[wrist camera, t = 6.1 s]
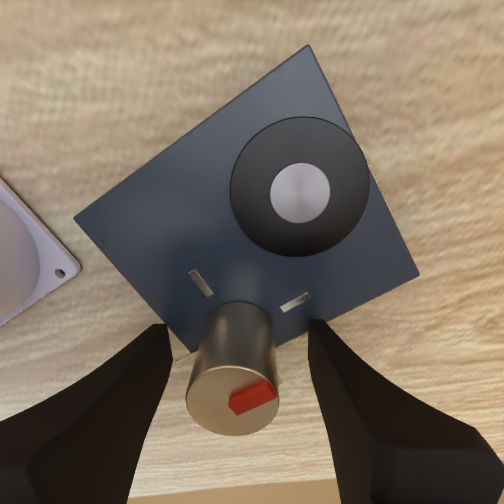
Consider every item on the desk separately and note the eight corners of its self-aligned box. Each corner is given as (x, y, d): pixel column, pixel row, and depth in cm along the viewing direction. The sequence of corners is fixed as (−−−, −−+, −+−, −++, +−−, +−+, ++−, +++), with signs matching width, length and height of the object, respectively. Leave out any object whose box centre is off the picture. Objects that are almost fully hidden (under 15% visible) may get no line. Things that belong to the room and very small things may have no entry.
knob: (230, 368, 14) (219, 457, 10) (191, 321, 13) (162, 399, 9) (286, 340, 13) (298, 423, 9) (249, 289, 13) (245, 358, 9)
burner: (274, 274, 12) (275, 281, 12) (204, 170, 11) (200, 171, 10) (387, 211, 11) (395, 215, 11) (326, 85, 10) (331, 81, 9)
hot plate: (225, 374, 18) (220, 412, 15) (89, 215, 14) (53, 230, 12) (409, 282, 15) (438, 310, 13) (298, 62, 12) (310, 40, 9)
